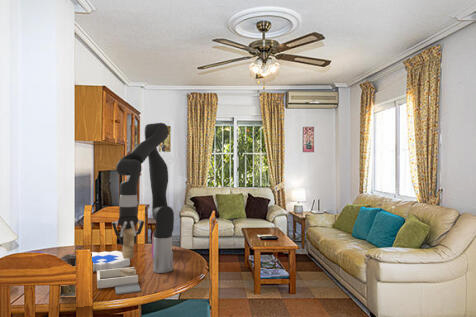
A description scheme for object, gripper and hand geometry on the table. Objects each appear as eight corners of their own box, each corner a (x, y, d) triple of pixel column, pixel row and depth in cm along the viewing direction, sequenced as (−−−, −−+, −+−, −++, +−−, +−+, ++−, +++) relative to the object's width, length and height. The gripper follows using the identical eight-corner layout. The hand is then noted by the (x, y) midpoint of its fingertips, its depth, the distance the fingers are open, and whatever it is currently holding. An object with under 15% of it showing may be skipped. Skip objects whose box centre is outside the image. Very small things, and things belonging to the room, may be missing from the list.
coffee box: (88, 292, 146) (89, 253, 146) (82, 298, 140) (82, 257, 140) (66, 292, 146) (67, 253, 146) (59, 298, 139) (59, 257, 140)
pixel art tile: (140, 255, 193) (99, 267, 168) (140, 262, 193) (99, 276, 168) (105, 249, 206) (62, 260, 181) (104, 255, 206) (61, 267, 181)
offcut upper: (125, 273, 165) (125, 267, 165) (135, 275, 162) (136, 269, 162) (119, 275, 162) (119, 269, 162) (130, 277, 159) (130, 272, 159)
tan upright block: (131, 252, 156) (131, 225, 156) (133, 258, 146) (134, 229, 147) (122, 253, 154) (122, 226, 154) (123, 259, 145) (124, 230, 145)
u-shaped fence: (134, 273, 171) (134, 266, 171) (137, 283, 157) (138, 275, 157) (97, 278, 164) (97, 270, 164) (97, 288, 150) (97, 280, 150)
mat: (138, 283, 156) (138, 282, 156) (140, 291, 147) (140, 290, 147) (114, 286, 153) (114, 285, 153) (116, 294, 143) (116, 293, 143)
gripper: (144, 203, 157) (143, 241, 157) (110, 204, 151) (110, 244, 151) (146, 205, 150) (145, 245, 150) (111, 206, 145) (110, 248, 144)
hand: (127, 244), depth 150 cm, fingers closed on tan upright block, 4 cm apart
